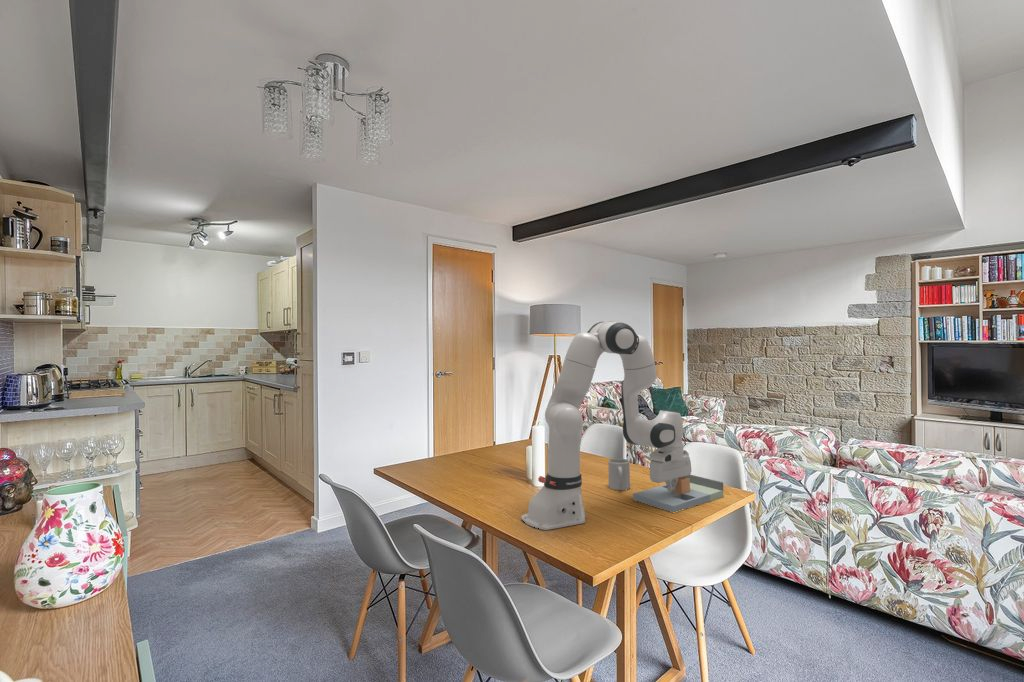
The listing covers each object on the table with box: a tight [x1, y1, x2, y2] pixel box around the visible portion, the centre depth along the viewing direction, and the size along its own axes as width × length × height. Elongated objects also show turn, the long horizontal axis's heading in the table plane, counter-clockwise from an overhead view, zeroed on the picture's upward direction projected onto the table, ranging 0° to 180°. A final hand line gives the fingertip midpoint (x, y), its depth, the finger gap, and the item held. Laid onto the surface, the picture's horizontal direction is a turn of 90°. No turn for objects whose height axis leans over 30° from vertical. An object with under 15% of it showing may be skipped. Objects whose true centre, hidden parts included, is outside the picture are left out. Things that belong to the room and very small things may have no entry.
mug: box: [607, 457, 631, 491], centre depth 194 cm, size 12×8×11 cm
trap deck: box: [632, 474, 724, 513], centre depth 180 cm, size 30×18×6 cm, turn 125°
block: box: [672, 477, 690, 494], centre depth 181 cm, size 5×5×5 cm
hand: (671, 490), depth 178 cm, fingers closed
